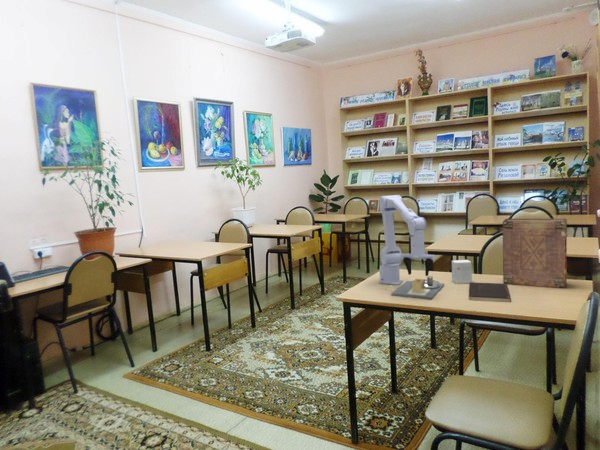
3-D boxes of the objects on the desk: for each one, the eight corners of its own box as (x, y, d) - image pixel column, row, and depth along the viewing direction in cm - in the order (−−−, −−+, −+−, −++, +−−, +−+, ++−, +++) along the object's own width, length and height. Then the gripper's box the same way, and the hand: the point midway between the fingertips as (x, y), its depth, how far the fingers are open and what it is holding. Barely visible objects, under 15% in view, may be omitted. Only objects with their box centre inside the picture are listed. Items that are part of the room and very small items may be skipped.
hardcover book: (468, 301, 179) (468, 296, 179) (469, 287, 200) (469, 282, 200) (511, 303, 173) (510, 298, 172) (507, 288, 194) (507, 283, 194)
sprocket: (418, 290, 193) (417, 279, 192) (407, 283, 206) (406, 272, 205) (445, 287, 195) (444, 276, 194) (432, 280, 207) (432, 270, 207)
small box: (468, 280, 210) (468, 259, 209) (472, 283, 204) (471, 261, 203) (451, 281, 210) (451, 260, 209) (455, 283, 205) (454, 262, 204)
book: (566, 283, 194) (567, 218, 191) (566, 288, 186) (567, 221, 183) (505, 279, 208) (505, 218, 204) (502, 283, 200) (502, 220, 197)
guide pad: (407, 294, 189) (407, 293, 189) (412, 289, 196) (412, 287, 196) (425, 295, 185) (425, 294, 185) (430, 290, 192) (430, 289, 192)
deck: (391, 295, 192) (391, 293, 192) (407, 282, 212) (407, 280, 212) (431, 299, 182) (431, 297, 182) (444, 285, 203) (444, 283, 203)
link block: (412, 292, 189) (412, 281, 188) (416, 289, 194) (415, 278, 193) (421, 293, 187) (421, 282, 186) (425, 290, 192) (424, 278, 191)
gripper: (398, 245, 189) (399, 275, 190) (431, 247, 181) (432, 278, 183) (403, 243, 194) (404, 272, 196) (435, 244, 187) (436, 274, 189)
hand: (418, 274), depth 190 cm, fingers open, 7 cm apart
